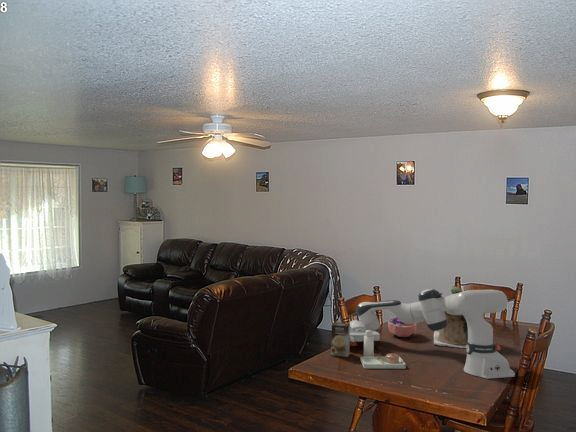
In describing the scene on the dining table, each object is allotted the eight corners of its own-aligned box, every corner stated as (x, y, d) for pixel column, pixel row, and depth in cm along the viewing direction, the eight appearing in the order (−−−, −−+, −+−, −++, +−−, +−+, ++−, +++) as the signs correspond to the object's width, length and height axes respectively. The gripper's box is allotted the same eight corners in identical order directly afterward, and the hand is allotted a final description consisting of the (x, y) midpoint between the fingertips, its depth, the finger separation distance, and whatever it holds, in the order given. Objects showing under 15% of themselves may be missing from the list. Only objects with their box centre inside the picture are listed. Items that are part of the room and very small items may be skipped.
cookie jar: (433, 346, 283) (434, 289, 282) (433, 334, 306) (434, 282, 305) (480, 350, 276) (481, 291, 274) (477, 338, 299) (478, 284, 298)
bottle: (372, 356, 264) (372, 329, 263) (374, 359, 259) (374, 331, 258) (362, 356, 264) (363, 329, 263) (364, 359, 259) (364, 331, 258)
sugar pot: (397, 362, 254) (397, 351, 254) (400, 366, 248) (400, 355, 247) (384, 362, 254) (384, 351, 254) (387, 366, 248) (387, 355, 247)
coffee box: (330, 355, 264) (330, 324, 263) (332, 352, 270) (333, 322, 270) (348, 357, 262) (348, 326, 261) (349, 353, 268) (350, 323, 267)
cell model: (386, 339, 295) (386, 320, 294) (388, 330, 314) (388, 312, 314) (416, 341, 291) (416, 322, 290) (416, 332, 310) (416, 314, 310)
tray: (399, 360, 257) (399, 356, 257) (405, 368, 245) (405, 364, 245) (360, 360, 257) (360, 356, 256) (364, 368, 245) (364, 363, 244)
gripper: (377, 338, 283) (382, 345, 270) (340, 339, 283) (344, 346, 269) (377, 327, 283) (382, 334, 269) (340, 328, 282) (344, 334, 269)
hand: (363, 340), depth 269 cm, fingers open, 8 cm apart
